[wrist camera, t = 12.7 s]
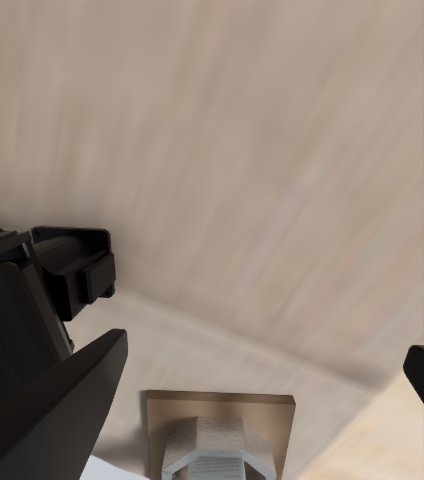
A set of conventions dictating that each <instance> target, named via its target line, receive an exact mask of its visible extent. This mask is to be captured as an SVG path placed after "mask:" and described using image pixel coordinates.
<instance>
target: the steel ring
mask: <svg viewBox="0 0 424 480" xmlns="http://www.w3.org/2000/svg"><path fill="white" fill-rule="evenodd" d="M200 456H211V457H237V458H242V459H243V460H245V461H246V462H247V463H248V464H250V465H251V466H252V467H253V468H254V469H252V470H250V471H249V472H247V473H245V477H246V480H276V477H277V473H276V468H275V464H274V459H273V454H272V450H271V445H270V441H269V440H268V439H266V438H265V437H264V436H263V435H262V434H261V433H259V432H258V431H257V430H256V429H255V428H253V427H252V426H251V425H250V424H249V423H248V422H246V421H245V420H244V419H243V418H232V417H206V416H198V417H196V418H195V419H194V420H192V421H191V422H189V423H188V424H186V425H185V426H183V427H182V428H180V429H179V430H177V431H176V432H174V433H173V434H172V435H170V436H169V437H167V442H166V448H165V454H164V459H163V465H162V480H187V471H186V470H185V469H183V468H182V467H184V466H185V465H187V464H189V463H190V462H192V461H193V460H195V459H197V458H198V457H200Z"/></svg>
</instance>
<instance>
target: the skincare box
mask: <svg viewBox="0 0 424 480" xmlns="http://www.w3.org/2000/svg"><path fill="white" fill-rule="evenodd" d="M187 480H246V477H245V469H244V460H243V459H242V458H237V457H211V456H200V457H198V458H197V459H195V460H193V461H192V462H190V463H189V464H188V469H187Z"/></svg>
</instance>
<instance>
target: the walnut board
mask: <svg viewBox="0 0 424 480" xmlns="http://www.w3.org/2000/svg"><path fill="white" fill-rule="evenodd" d="M146 401H147V420H148V440H149V459H150V479H151V480H162V465H163V459H164V454H165V448H166V442H167V437H169V436H170V435H172V434H173V433H174V432H176V431H177V430H179V429H180V428H182V427H183V426H185V425H186V424H188V423H189V422H191V421H192V420H194V419H195V418H196V417H198V416H206V417H232V418H243V419H244V420H245V421H246V422H248V423H249V424H250V425H251V426H252V427H253V428H255V429H256V430H257V431H258V432H259V433H261V434H262V435H263V436H264V437H265V438H266V439H268V440H269V441H270V445H271V450H272V454H273V459H274V464H275V468H276V473H277V477H276V480H281V478H282V473H283V468H284V463H285V458H286V453H287V448H288V443H289V438H290V433H291V427H292V422H293V417H294V412H295V407H296V403H295V401H294V398H293V396H286V395H260V394H234V393H209V392H183V391H158V390H149V392H148V395H147V399H146ZM182 468H183V469H185V470H186V471H187V469H188V464H187V465H185V466H184V467H182ZM244 469H245V473H247V472H249V471H250V470H252V469H254V468H253V467H252V466H251V465H250V464H248V463H247V462H246V461H245V460H244Z"/></svg>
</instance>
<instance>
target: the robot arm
mask: <svg viewBox="0 0 424 480" xmlns="http://www.w3.org/2000/svg"><path fill="white" fill-rule="evenodd" d="M38 231H40V232H41V234H39V232H38ZM101 233H103V234H104V235H105V238H104V237H102V235H101ZM32 236H33V241H34V244H31V241H30V240H31V239H32V238H31V236H30V233H29V231H24V232H18V233H17V232H16V231H8V232H7V231H4V230H2V229H0V480H79V479H80V476H81V474H82V472H83V470H84V467H85V465H86V463H87V461H88V458H89V456H90V454H91V452H92V449H93V447H94V445H95V443H96V440H97V438H98V436H99V434H100V431H101V429H102V427H103V425H104V422H105V420H106V417H107V415H108V413H109V410H110V407H111V404H112V401H113V398H114V395H115V392H116V389H117V387H118V384H119V381H120V378H121V375H122V372H123V369H124V366H125V363H126V360H127V356H128V341H127V332H126V330H125V329H111V330H110V331H108V332H107V333H105V334H103V335H102V336H100V337H99V338H97V339H96V340H94V341H93V342H91V343H90V344H88V345H87V346H85V347H83V348H82V349H80V350H79V351H77V352H76V353H74V354H73V350H74V347H75V346H74V343H73V341H72V340H70V338H69V335H68V333H67V330H66V328H65V325H64V323H63V321H65V322H69V321H71V320H72V319H73V318H74V317H75V316H76V315H77V314H78V313H79V312H80V311H81V310H82V309H83V308H84V307H85V306H86V305H87V304H89V305H91V304H92V303H93V302H94V301H95V300H96V299H97V298H98V297H101V298H110V297H112V296H113V294H114V293H115V288H114V281H115V279H116V275H115V264H114V255H113V253H112V252H111V242H110V234H109V232H108V231H107V230H105V229H89V228H66V227H43V226H40V227H36V228H34V229H33V230H32ZM107 291H109V292H110V293H108V292H107ZM403 370H404V373H405V375H406V376H407V378H408V380H409V381H410V383H411V384H412V386H413V388H414V389H415V391H416V392H417V394H418V395H419V397H420V399H421V400H422V402H423V403H424V345H412V346H411V347H410V348H409V350H408V353H407V356H406V358H405V361H404V364H403Z"/></svg>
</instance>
